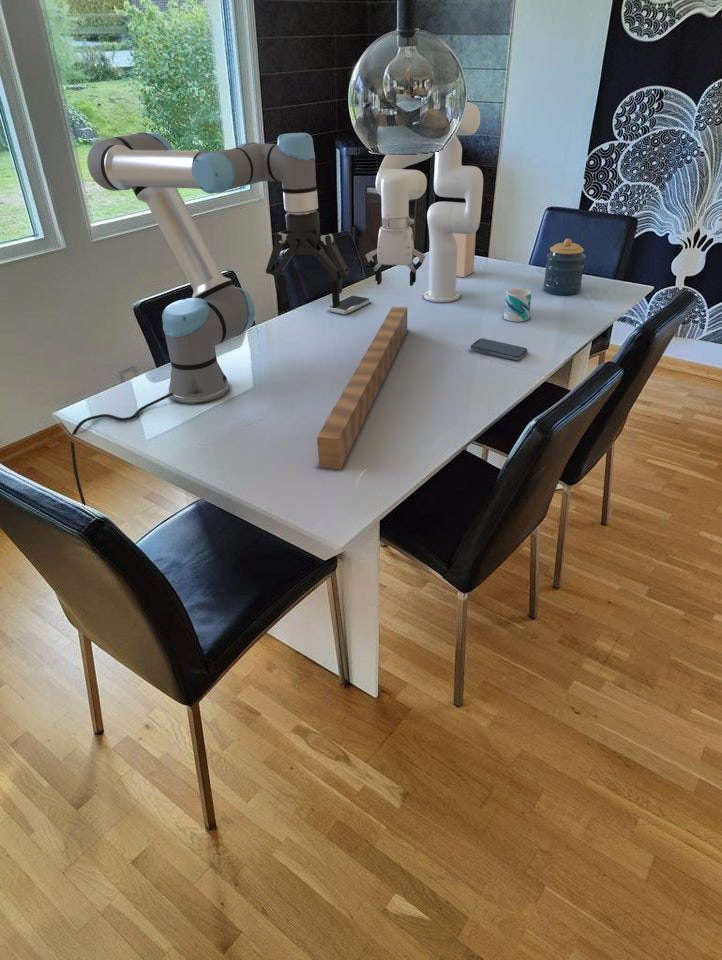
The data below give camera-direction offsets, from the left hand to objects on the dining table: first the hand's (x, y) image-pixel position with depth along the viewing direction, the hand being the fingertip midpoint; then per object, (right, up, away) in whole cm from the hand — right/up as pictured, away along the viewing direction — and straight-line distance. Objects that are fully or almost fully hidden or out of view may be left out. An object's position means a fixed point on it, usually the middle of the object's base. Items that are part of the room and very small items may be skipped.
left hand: (310, 305), depth 161 cm
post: (+15, -17, +16) cm, 28 cm away
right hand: (+22, +15, +35) cm, 45 cm away
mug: (+64, +11, +57) cm, 87 cm away
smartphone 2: (+52, -5, +32) cm, 62 cm away
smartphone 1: (+8, +18, +71) cm, 73 cm away
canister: (+84, +26, +78) cm, 117 cm away
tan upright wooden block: (+52, +39, +101) cm, 120 cm away
